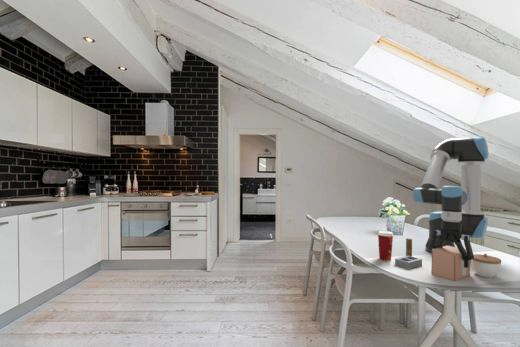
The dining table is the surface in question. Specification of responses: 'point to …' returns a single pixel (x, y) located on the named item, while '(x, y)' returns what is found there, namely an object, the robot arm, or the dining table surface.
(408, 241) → the pin
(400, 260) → the grey hollow block
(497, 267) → the lidded jar
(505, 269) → the dining table surface
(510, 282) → the dining table surface
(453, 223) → the robot arm
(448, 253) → the block
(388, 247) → the paper cup
